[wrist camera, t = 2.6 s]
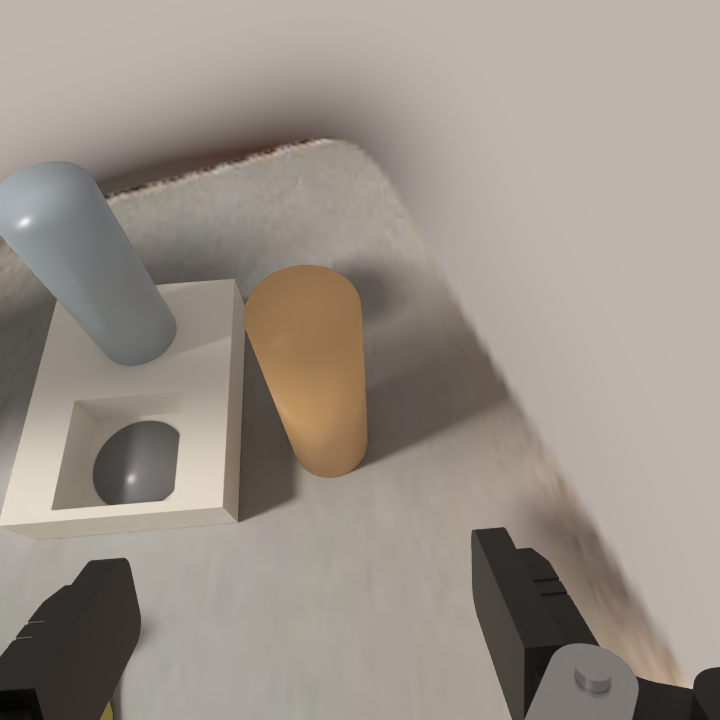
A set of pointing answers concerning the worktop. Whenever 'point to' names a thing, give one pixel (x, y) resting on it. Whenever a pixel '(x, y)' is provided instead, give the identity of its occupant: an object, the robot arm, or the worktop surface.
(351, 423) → the tan round-top capsule
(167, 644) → the worktop surface
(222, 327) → the housing
